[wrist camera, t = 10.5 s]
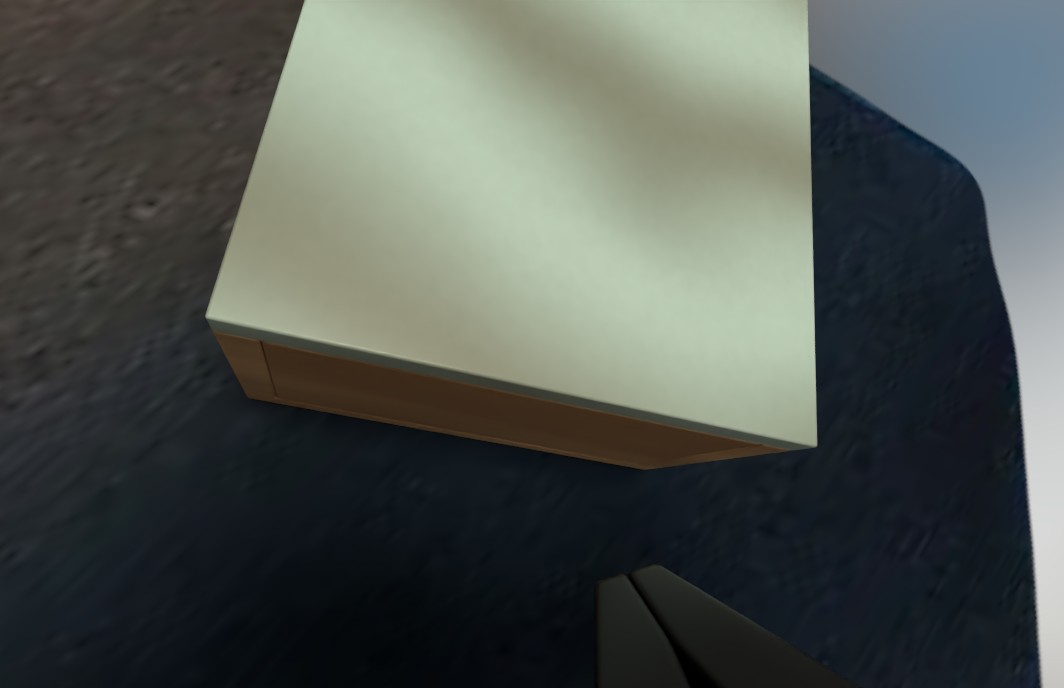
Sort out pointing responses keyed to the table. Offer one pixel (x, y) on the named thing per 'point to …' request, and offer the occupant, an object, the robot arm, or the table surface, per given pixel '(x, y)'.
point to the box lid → (545, 204)
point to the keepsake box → (466, 408)
